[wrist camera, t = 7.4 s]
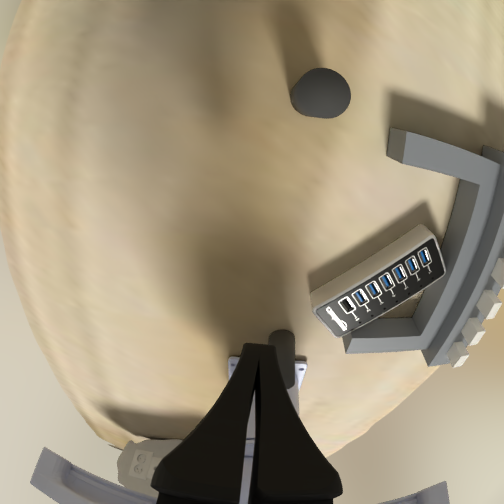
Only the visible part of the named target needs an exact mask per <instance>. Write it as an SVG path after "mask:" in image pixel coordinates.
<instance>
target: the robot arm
mask: <svg viewBox="0 0 504 504" xmlns="http://www.w3.org/2000/svg"><path fill="white" fill-rule="evenodd" d="M228 368H229V381H228V383H227V385H226V387H225V388H224V390H223V392H222V393H221V395H220V396H219V398H218V399H217V401H216V402H215V404H214V405H213V407H212V408H211V409H210V411H209V412H208V413H207V415H206V416H205V417H204V418H203V419H202V421H201V422H200V423H199V424H198V425H197V426H196V428H195V429H194V430H193V431H192V432H191V433H190V434H189V435H188V436H187V437H186V438H185V439H184V440H183V441H182V442H181V443H180V444H179V445H178V446H177V447H175V448H174V449H173V450H172V451H171V452H169V453H168V454H167V455H166V456H165V457H163V458H162V460H161V461H160V463H159V464H158V466H157V467H156V469H155V471H154V474H153V476H152V480H151V484H150V486H151V487H152V488H153V489H155V490H156V491H158V492H159V494H158V498H156V497H152V496H149V495H146V494H143V493H140V492H137V491H134V490H131V489H128V488H125V487H123V486H120V485H117V484H114V483H112V482H110V481H107V480H105V479H103V478H100V477H98V476H96V475H94V474H91V473H89V472H87V471H85V470H83V469H81V468H79V467H77V466H75V465H73V464H71V462H69V461H68V460H66V459H64V458H63V457H61V456H59V455H58V454H56V453H54V452H52V451H51V450H49V449H47V448H46V447H44V448H43V450H42V453H41V455H40V458H39V460H38V463H37V465H36V468H35V470H34V473H33V476H32V478H31V481H30V483H31V484H32V485H33V486H35V487H36V488H37V489H39V490H40V491H42V492H43V493H45V494H46V495H47V496H49V497H50V498H52V499H53V500H55V501H56V502H58V503H59V504H333V498H336V497H338V496H340V495H341V494H342V493H343V488H342V483H341V479H340V477H339V474H338V472H337V471H336V470H335V469H334V468H333V466H332V465H331V464H330V463H329V462H328V461H327V459H326V458H325V457H324V455H323V454H322V453H321V451H320V450H319V449H318V447H317V446H316V444H315V443H314V441H313V440H312V438H311V437H310V435H309V434H308V432H307V430H306V429H305V427H304V425H303V423H302V422H301V420H300V418H299V390H300V387H301V384H302V381H303V378H304V375H305V372H306V369H307V362H305V361H295V385H294V386H293V387H292V388H290V389H286V386H285V383H284V380H283V377H282V374H281V371H280V367H279V363H278V359H277V353H276V347H275V346H274V345H263V344H252V343H245V344H244V345H243V349H242V353H241V356H240V357H229V360H228ZM379 504H449V497H448V490H447V483H446V481H444V482H441V483H439V484H436V485H434V486H431V487H428V488H426V489H423V490H421V491H419V492H417V493H415V494H411V495H408V496H405V497H402V498H398V499H395V500H391V501H387V502H383V503H379Z"/></svg>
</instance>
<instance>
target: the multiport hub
mask: <svg viewBox="0 0 504 504" xmlns="http://www.w3.org/2000/svg"><path fill="white" fill-rule="evenodd" d="M445 273H446V267H445V264H444V260H443V257H442V254H441V251H440V248H439V245H438V242H437V239H436V236H435V235H434V234H433V233H432V232H431V231H430V230H429V229H428V228H427V227H426V226H425V225H423V224H419V225H417V226H416V227H415V228H413V229H412V230H410V231H409V232H407V233H406V234H404V235H403V236H401V237H400V238H398V239H397V240H395V241H394V242H392V243H391V244H389V245H388V246H386V247H385V248H383V249H382V250H380V251H378V252H377V253H375V254H374V255H372V256H371V257H369V258H367V259H366V260H364V261H363V262H361V263H359V264H358V265H356V266H354V267H353V268H351V269H350V270H348V271H346V272H345V273H343V274H341V275H340V276H338V277H336V278H335V279H333V280H331V281H330V282H328V283H326V284H324V285H323V286H321V287H319V288H317V289H316V290H314V291H312V292H311V294H310V299H311V305H312V312H313V313H314V315H315V316H316V317H317V318H318V319H319V320H320V321H321V323H322V324H323V325H324V326H325V327H326V328H327V329H328V331H329V332H330V333H331V334H332V335H333V336H334V337H335V338H340V337H342V336H344V335H346V334H348V333H350V332H352V331H354V330H356V329H358V328H360V327H362V326H363V325H365V324H367V323H369V322H371V321H373V320H374V319H376V318H378V317H380V316H381V315H383V314H385V313H387V312H388V311H390V310H392V309H393V308H395V307H397V306H398V305H400V304H402V303H403V302H405V301H406V300H408V299H410V298H411V297H413V296H414V295H416V294H418V293H419V292H421V291H422V290H424V289H425V288H427V287H428V286H430V285H431V284H433V283H434V282H436V281H437V280H439V279H440V278H441V277H443V276H444V275H445Z"/></svg>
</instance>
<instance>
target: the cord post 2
mask: <svg viewBox="0 0 504 504" xmlns="http://www.w3.org/2000/svg"><path fill="white" fill-rule="evenodd" d="M290 99H291V103H292V105H293V107H294V108H295V110H296V111H297V112H299V113H300V114H302V115H305V116H310V117H317V118H326V119H327V118H334V117H337V116H339V115H341V114H342V113H343V112H344V111H345V110H346V109H347V107H348V106H349V103H350V99H351V92H350V88H349V85H348V83H347V82H346V80H345V79H344V78H343V77H342V76H341V75H340V74H339V73H337V72H335V71H333V70H331V69H327V68H316V69H313V70H310V71H308V72H307V73H306V74H304V75H303V76H302V78H301V79H300V80H299V81H298V83H297V84H296V85H295V86H294V87H293V89H292V91H291V95H290Z"/></svg>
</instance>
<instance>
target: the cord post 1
mask: <svg viewBox="0 0 504 504" xmlns="http://www.w3.org/2000/svg"><path fill="white" fill-rule="evenodd" d="M268 345H274V346H275V347H276V353H277V359H278V363H279V367H280V371H281V374H282V377H283V380H284V383H285V386H286V389H290V388H292V387H293V386H294V385H295V337H294V335H293V334H292V333H291V332H289V331H286V330H277V331H275V332H273V333H271V335H270V336H269V344H268Z"/></svg>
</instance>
